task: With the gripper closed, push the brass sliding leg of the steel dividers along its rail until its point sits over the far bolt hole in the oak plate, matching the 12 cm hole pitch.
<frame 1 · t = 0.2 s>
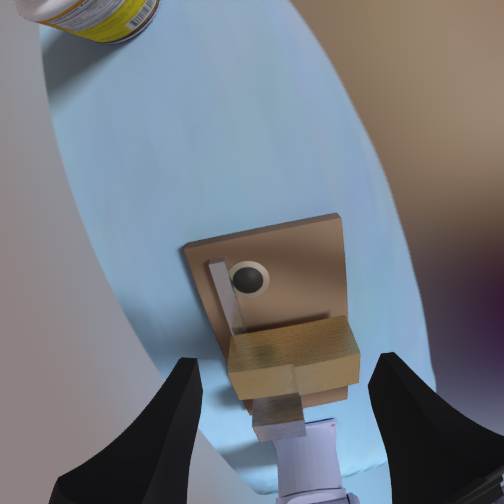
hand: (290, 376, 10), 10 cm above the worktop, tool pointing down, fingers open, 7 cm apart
divider leg: (293, 356, 18), point 4 cm above the worktop, slide at 7.0 cm
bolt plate: (284, 337, 22), on the worktop
divider head: (293, 378, 25), resting on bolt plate
supplement bottle: (125, 11, 12), on the worktop
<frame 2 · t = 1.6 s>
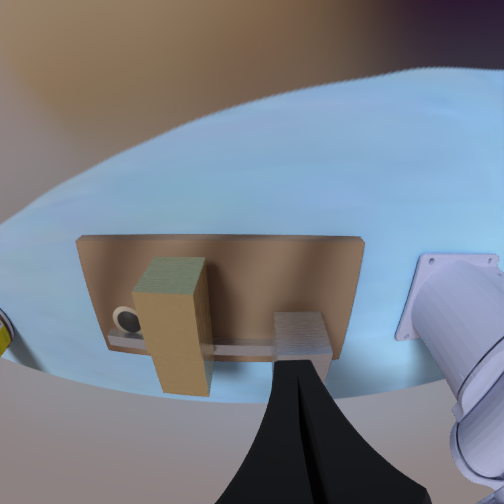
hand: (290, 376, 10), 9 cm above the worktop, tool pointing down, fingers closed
divider leg: (182, 328, 16), point 4 cm above the worktop, slide at 7.0 cm
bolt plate: (214, 301, 20), on the worktop
divider head: (293, 302, 20), resting on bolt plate
supplement bottle: (1, 319, 22), on the worktop
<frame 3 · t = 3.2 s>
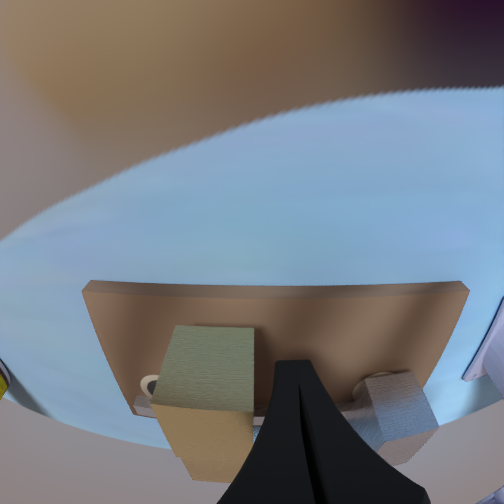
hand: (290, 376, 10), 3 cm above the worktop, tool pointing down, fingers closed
divider leg: (218, 416, 11), point 4 cm above the worktop, slide at 8.6 cm, touching gripper
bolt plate: (282, 365, 14), on the worktop
divider head: (377, 358, 14), resting on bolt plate
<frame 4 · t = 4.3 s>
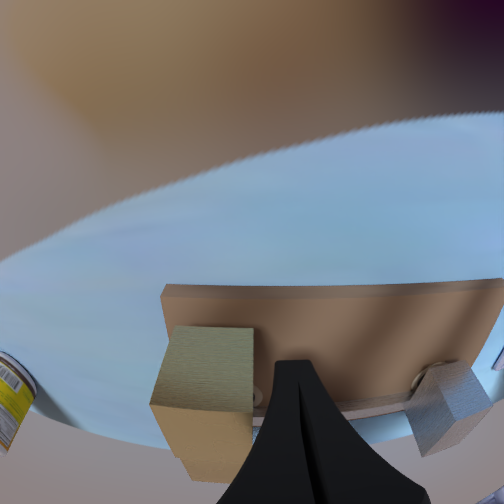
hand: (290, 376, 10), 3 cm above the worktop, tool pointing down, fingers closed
divider leg: (217, 416, 11), point 4 cm above the worktop, slide at 12.6 cm, touching gripper
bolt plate: (354, 361, 14), on the worktop
divider head: (432, 350, 14), resting on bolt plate
supplement bottle: (16, 370, 17), on the worktop
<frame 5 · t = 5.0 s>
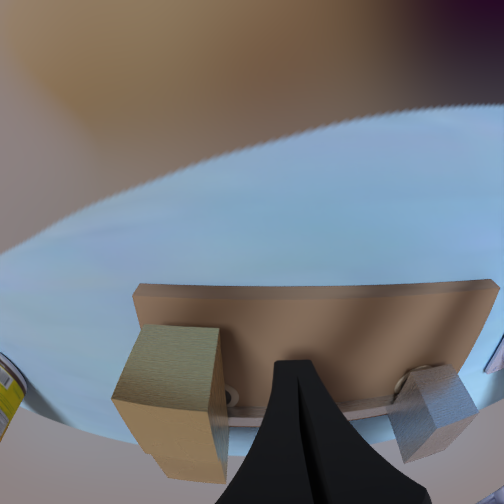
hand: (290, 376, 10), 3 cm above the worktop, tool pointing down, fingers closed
divider leg: (188, 415, 11), point 4 cm above the worktop, slide at 12.6 cm
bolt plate: (333, 363, 14), on the worktop
divider head: (417, 353, 14), resting on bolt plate
supplement bottle: (8, 367, 17), on the worktop
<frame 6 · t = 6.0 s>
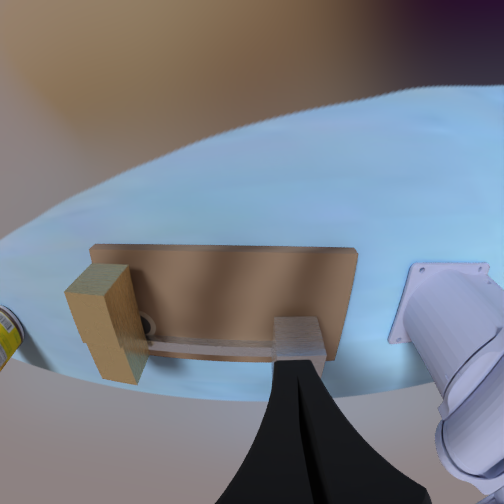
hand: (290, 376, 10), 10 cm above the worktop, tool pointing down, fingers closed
divider leg: (113, 324, 18), point 4 cm above the worktop, slide at 12.6 cm
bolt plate: (219, 306, 21), on the worktop
divider head: (292, 307, 21), resting on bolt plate
supplement bottle: (11, 321, 24), on the worktop
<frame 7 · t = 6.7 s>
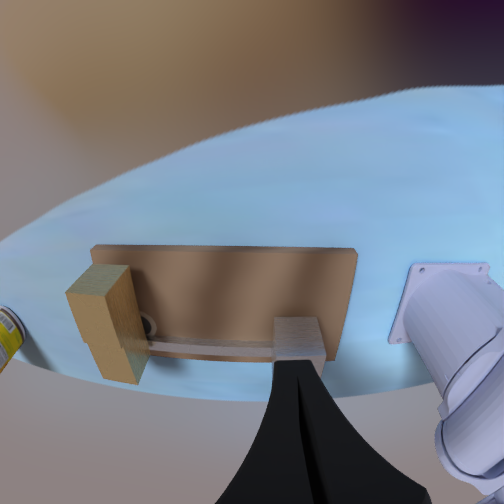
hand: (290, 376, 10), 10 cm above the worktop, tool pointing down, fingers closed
divider leg: (114, 324, 18), point 4 cm above the worktop, slide at 12.6 cm
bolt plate: (219, 306, 22), on the worktop
divider head: (292, 307, 21), resting on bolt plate
supplement bottle: (12, 321, 24), on the worktop
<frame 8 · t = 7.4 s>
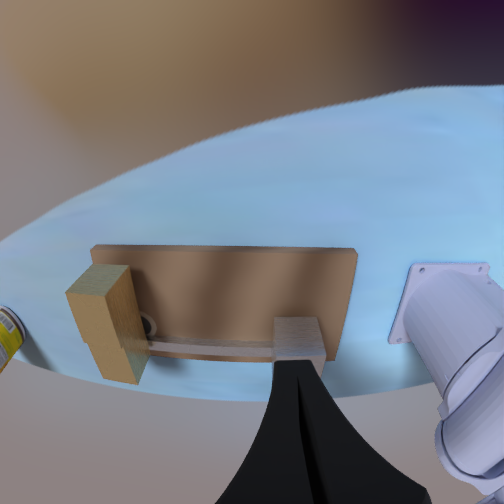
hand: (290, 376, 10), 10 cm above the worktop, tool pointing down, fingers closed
divider leg: (114, 324, 18), point 4 cm above the worktop, slide at 12.6 cm
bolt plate: (219, 306, 22), on the worktop
divider head: (292, 307, 21), resting on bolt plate
supplement bottle: (12, 321, 24), on the worktop
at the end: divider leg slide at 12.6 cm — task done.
